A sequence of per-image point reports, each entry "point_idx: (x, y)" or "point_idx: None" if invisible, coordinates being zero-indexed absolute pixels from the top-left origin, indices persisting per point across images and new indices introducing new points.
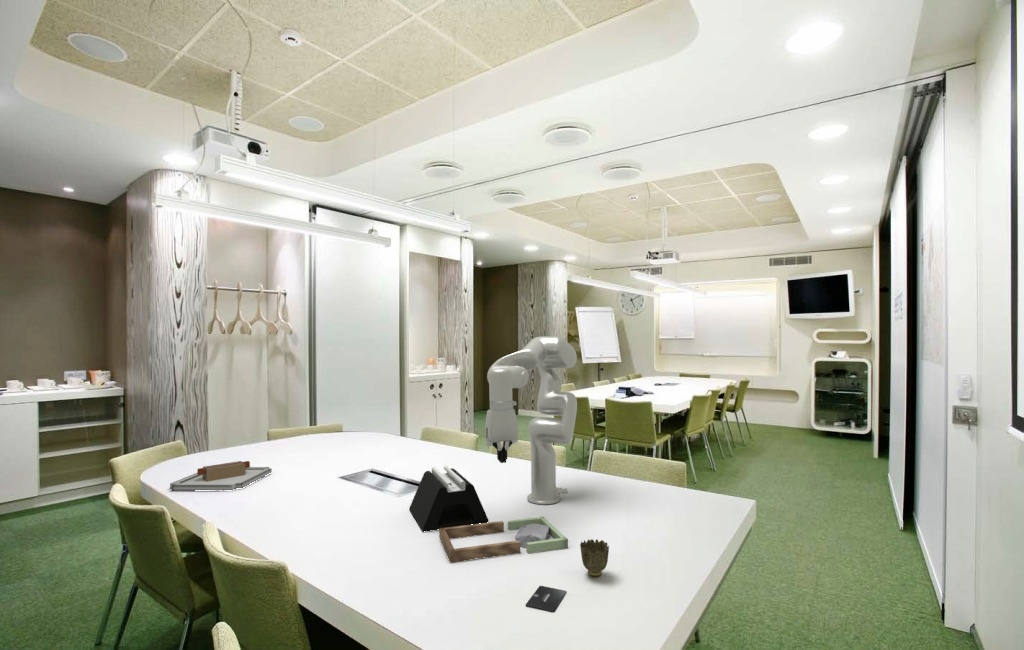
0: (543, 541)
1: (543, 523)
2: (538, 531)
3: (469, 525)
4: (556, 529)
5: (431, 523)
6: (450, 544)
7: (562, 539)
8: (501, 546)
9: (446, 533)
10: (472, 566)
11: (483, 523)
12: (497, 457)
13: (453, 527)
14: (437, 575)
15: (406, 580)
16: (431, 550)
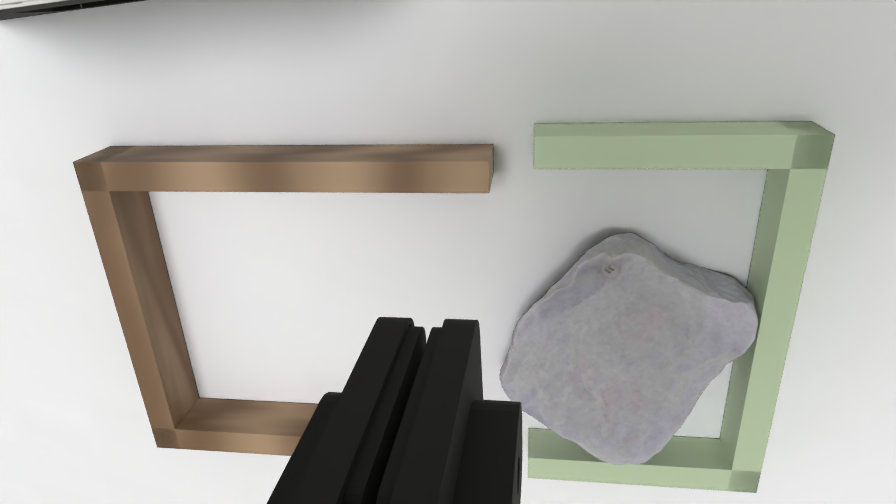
0: (617, 474)
1: (774, 216)
2: (631, 421)
3: (257, 172)
4: (777, 371)
5: (11, 17)
6: (155, 382)
7: (726, 487)
8: None
9: (123, 250)
10: (271, 467)
11: (350, 165)
12: (320, 416)
13: (157, 175)
14: (143, 482)
15: (42, 477)
16: (91, 280)
